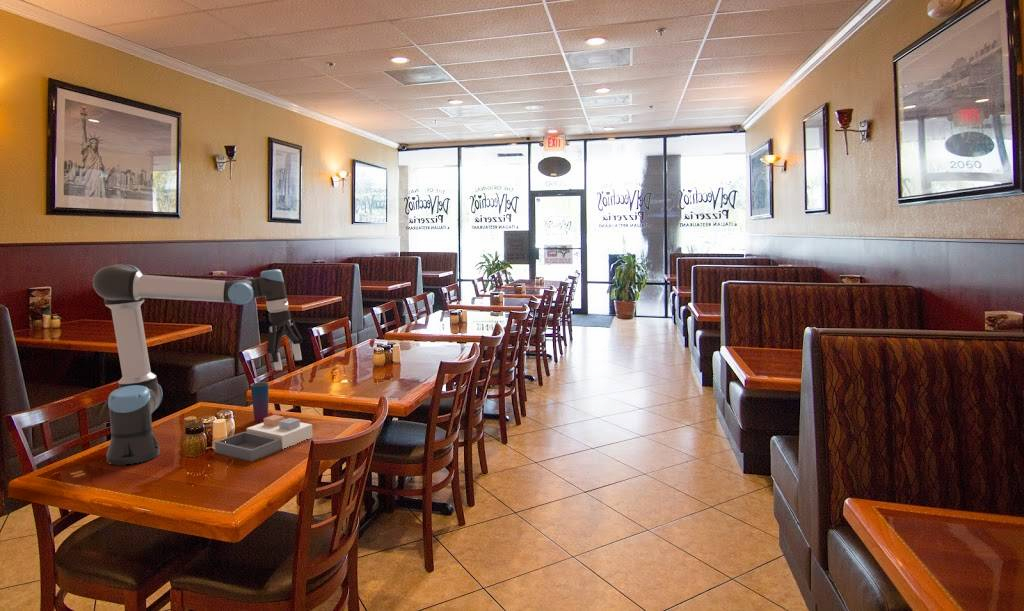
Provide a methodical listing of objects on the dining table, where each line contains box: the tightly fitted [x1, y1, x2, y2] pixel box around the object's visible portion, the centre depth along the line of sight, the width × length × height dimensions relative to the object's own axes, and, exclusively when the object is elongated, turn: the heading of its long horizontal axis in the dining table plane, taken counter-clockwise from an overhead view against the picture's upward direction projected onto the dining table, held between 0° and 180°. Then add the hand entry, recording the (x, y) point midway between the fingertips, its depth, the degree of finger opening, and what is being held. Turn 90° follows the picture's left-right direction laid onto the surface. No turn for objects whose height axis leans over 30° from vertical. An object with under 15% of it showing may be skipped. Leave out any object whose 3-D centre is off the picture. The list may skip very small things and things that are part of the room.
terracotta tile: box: [263, 414, 285, 427], centre depth 218 cm, size 5×5×2 cm
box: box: [214, 431, 282, 463], centre depth 203 cm, size 18×12×4 cm, turn 64°
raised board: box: [246, 418, 314, 450], centre depth 216 cm, size 18×14×5 cm
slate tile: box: [279, 417, 301, 430], centre depth 214 cm, size 5×5×2 cm
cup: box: [250, 381, 270, 422], centre depth 238 cm, size 7×7×15 cm
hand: (289, 364), depth 224 cm, fingers open, 13 cm apart
